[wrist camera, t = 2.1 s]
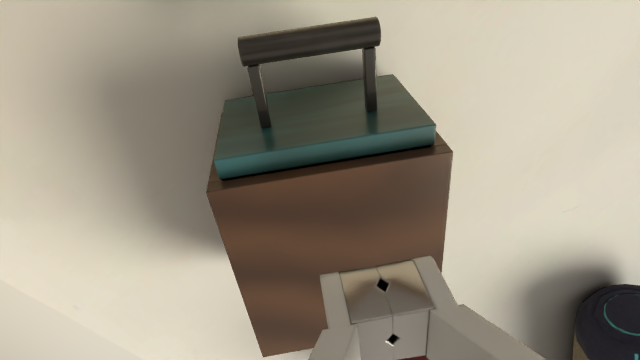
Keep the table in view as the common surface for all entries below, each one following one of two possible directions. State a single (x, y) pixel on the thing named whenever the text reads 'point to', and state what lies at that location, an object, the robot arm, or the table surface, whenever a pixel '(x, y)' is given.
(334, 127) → the drawer
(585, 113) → the table surface
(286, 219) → the cabinet
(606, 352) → the portable speaker
